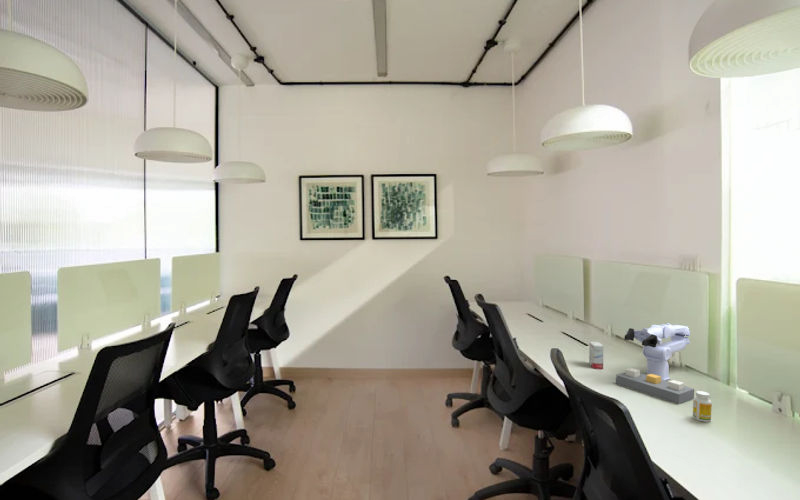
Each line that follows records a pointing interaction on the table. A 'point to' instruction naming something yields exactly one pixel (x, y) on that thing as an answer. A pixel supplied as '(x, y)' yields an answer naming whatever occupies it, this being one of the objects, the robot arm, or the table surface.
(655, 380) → the amber button
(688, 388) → the panel
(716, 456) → the table surface
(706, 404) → the supplement bottle
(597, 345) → the ink box
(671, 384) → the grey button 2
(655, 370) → the robot arm
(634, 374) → the block
